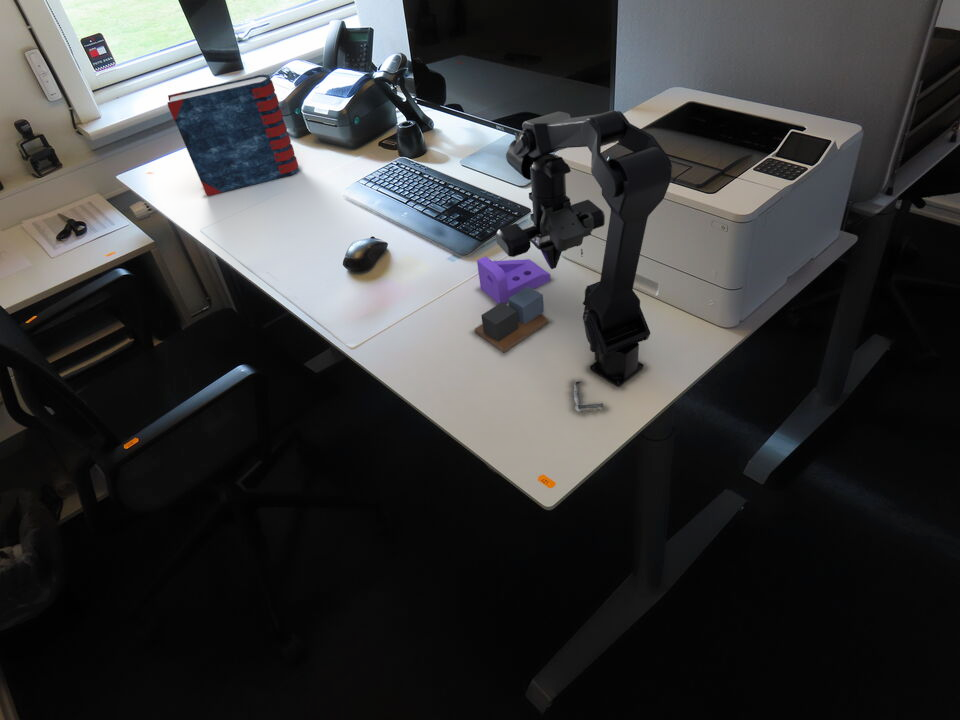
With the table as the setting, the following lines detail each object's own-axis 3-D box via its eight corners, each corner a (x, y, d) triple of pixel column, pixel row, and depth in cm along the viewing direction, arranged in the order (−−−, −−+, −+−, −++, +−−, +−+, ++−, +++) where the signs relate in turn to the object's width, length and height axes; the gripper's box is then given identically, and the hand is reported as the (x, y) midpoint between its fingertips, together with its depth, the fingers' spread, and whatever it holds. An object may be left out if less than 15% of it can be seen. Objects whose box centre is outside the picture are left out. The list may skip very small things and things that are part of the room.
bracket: (500, 305, 128) (496, 276, 123) (480, 289, 132) (476, 260, 128) (550, 280, 132) (548, 251, 127) (529, 265, 136) (527, 236, 132)
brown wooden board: (548, 322, 122) (548, 318, 122) (504, 352, 118) (503, 348, 117) (518, 304, 127) (518, 300, 127) (474, 333, 123) (474, 328, 122)
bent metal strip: (611, 397, 105) (590, 413, 103) (611, 403, 106) (590, 419, 104) (577, 376, 110) (556, 391, 108) (577, 382, 111) (556, 397, 108)
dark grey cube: (518, 328, 121) (517, 311, 118) (498, 342, 119) (496, 324, 116) (503, 319, 123) (501, 301, 120) (483, 332, 121) (481, 315, 118)
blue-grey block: (544, 311, 123) (543, 294, 121) (524, 324, 121) (522, 307, 118) (529, 303, 126) (527, 285, 123) (509, 315, 124) (507, 298, 121)
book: (298, 163, 185) (269, 71, 168) (301, 174, 180) (271, 80, 163) (206, 186, 181) (167, 94, 164) (206, 197, 176) (166, 103, 159)
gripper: (519, 228, 104) (526, 307, 114) (623, 194, 108) (620, 273, 118) (490, 199, 112) (499, 275, 122) (588, 167, 116) (588, 244, 126)
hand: (552, 267), depth 122 cm, fingers closed
